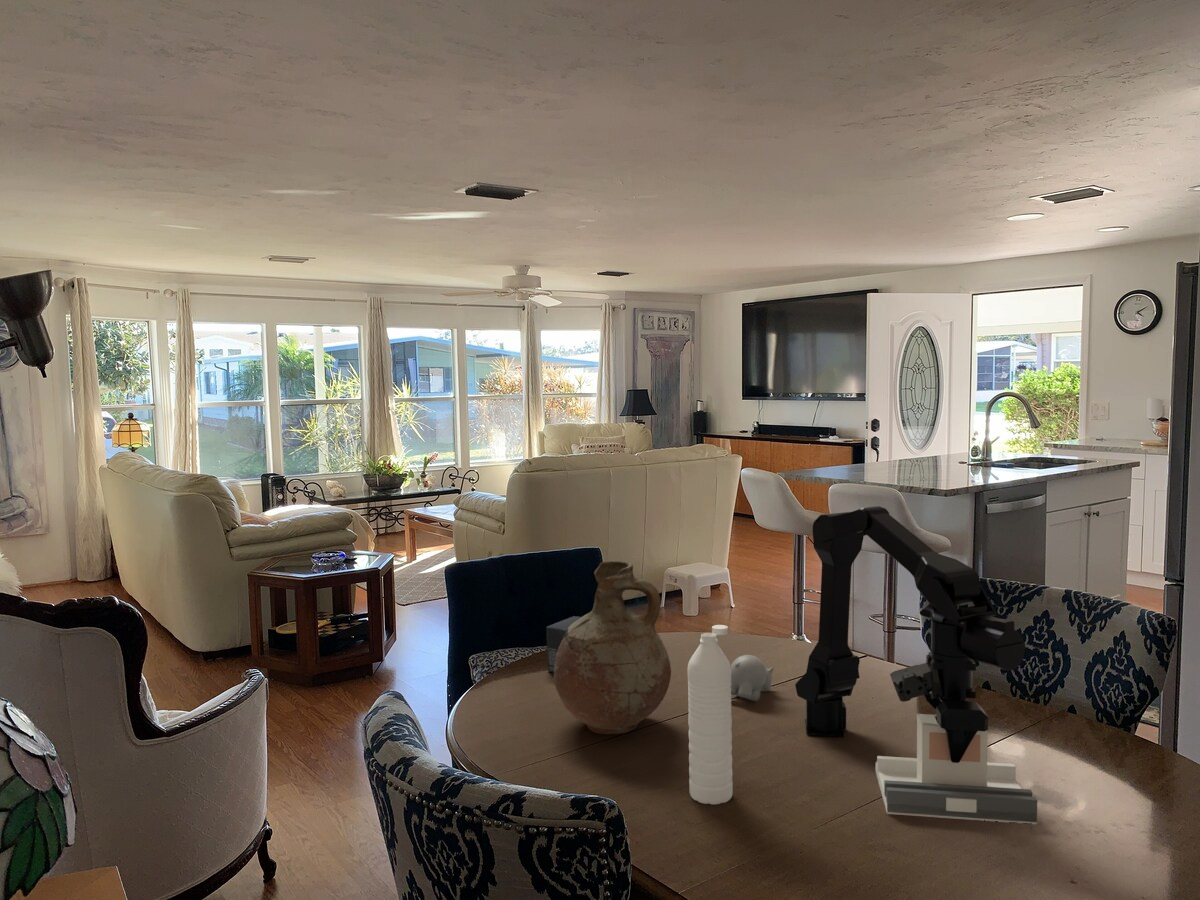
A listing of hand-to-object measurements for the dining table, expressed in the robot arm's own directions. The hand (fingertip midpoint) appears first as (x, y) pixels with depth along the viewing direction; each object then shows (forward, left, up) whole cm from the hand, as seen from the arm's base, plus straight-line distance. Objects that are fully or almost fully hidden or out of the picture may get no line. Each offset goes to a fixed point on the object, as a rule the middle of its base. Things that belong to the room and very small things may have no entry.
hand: (950, 753), depth 128 cm
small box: (-70, +51, -7) cm, 87 cm away
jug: (-55, +20, -7) cm, 59 cm away
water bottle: (-35, -4, -7) cm, 36 cm away
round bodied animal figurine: (-30, +38, -7) cm, 49 cm away
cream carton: (0, 0, -5) cm, 5 cm away
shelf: (0, 0, -6) cm, 6 cm away
